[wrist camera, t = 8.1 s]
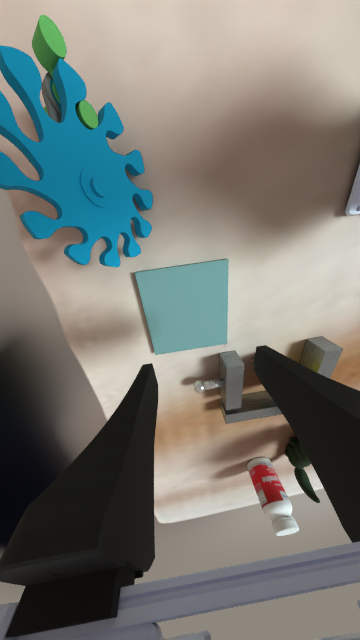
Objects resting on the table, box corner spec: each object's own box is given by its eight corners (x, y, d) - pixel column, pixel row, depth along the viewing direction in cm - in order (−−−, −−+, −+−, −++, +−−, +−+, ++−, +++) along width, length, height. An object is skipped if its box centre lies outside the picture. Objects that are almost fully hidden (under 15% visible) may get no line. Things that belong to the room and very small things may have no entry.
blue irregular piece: (162, 261, 16) (38, 280, 9) (127, 259, 19) (17, 272, 12) (148, 89, 11) (-172, -192, 4) (104, 128, 14) (-107, 20, 7)
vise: (322, 336, 23) (343, 348, 21) (302, 392, 29) (316, 408, 26) (189, 357, 23) (192, 373, 20) (196, 411, 28) (199, 428, 26)
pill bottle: (273, 456, 40) (309, 526, 30) (261, 468, 42) (291, 536, 33) (253, 455, 39) (283, 528, 29) (242, 467, 41) (266, 538, 31)
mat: (226, 258, 17) (228, 259, 16) (225, 341, 22) (227, 343, 21) (135, 271, 17) (134, 272, 16) (155, 352, 22) (155, 354, 21)
